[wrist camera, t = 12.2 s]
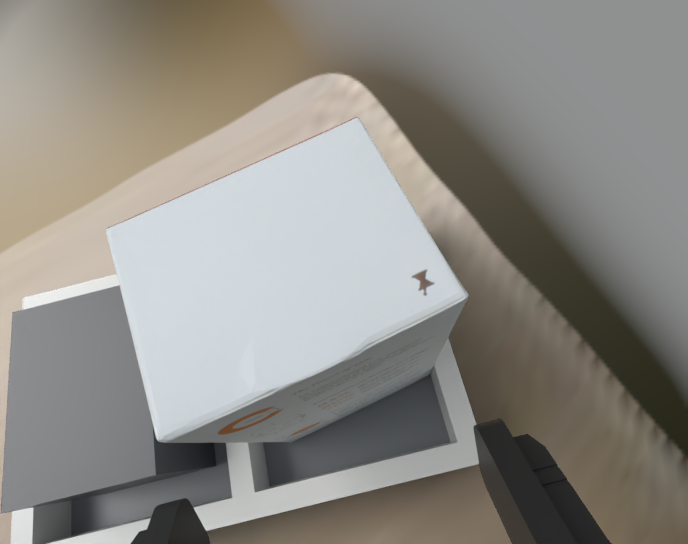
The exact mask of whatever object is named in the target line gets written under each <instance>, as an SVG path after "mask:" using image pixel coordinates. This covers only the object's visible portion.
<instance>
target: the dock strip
mask: <svg viewBox="0 0 688 544" xmlns="http://www.w3.org/2000/svg"><path fill="white" fill-rule="evenodd" d="M474 425H477V424H476V421H475V418H474V415H473V412H472V409H471V406H470V403H469V400H468V397H467V394H466V390H465V387H464V384H463V381H462V378H461V375H460V372H459V369H458V366H457V363H456V360H455V357H454V354H453V350H452V347H451V344H450V341H449V338H448V339H447V341H446V343H445V345H444V347H443V348H442V350H441V352H440V354H439V356H438V358H437V360H436V362H435V364H434V366H433V368H432V370H431V372H430V374H429V375H428V376H426V377H424V378H422V379H420V380H419V381H417V382H415V383H413V384H411V385H409V386H407V387H405V388H403V389H401V390H399V391H397V392H395V393H393V394H391V395H389V396H387V397H385V398H383V399H381V400H379V401H377V402H374V403H372V404H370V405H368V406H366V407H364V408H362V409H360V410H358V411H356V412H354V413H352V414H350V415H348V416H346V417H344V418H342V419H340V420H338V421H336V422H334V423H331V424H329V425H327V426H325V427H323V428H321V429H319V430H317V431H315V432H313V433H311V434H309V435H306V436H304V437H302V438H300V439H298V440H296V441H293V442H291V443H290V442H255V443H249V442H248V443H213V442H210V443H163V442H159V441H158V440H157V439H156V436H155V431H154V427H153V422H152V418H151V414H150V410H149V405H148V401H147V397H146V393H145V389H144V385H143V380H142V376H141V372H140V368H139V364H138V359H137V355H136V351H135V347H134V343H133V339H132V335H131V331H130V326H129V322H128V318H127V314H126V310H125V306H124V302H123V297H122V293H121V289H120V285H119V281H118V277H117V274H114V275H110V276H106V277H103V278H99V279H95V280H91V281H87V282H83V283H79V284H75V285H71V286H67V287H63V288H59V289H56V290H52V291H48V292H44V293H40V294H36V295H32V296H28V297H24V298H23V308H22V310H20V311H16V312H13V314H12V331H11V347H10V364H9V381H8V398H7V414H6V431H5V448H4V465H3V481H2V498H1V513H6V512H12V524H11V543H10V544H131V542H132V541H133V540H134V538H135V537H136V535H137V534H138V532H139V531H143V530H147V528H148V525H149V522H150V519H151V516H152V514H153V511H154V509H155V507H156V506H158V505H160V504H164V503H168V502H172V501H175V500H179V499H183V498H187V499H188V500H189V501H190V503H191V504H192V506H193V508H194V510H195V512H196V514H197V515H198V517H199V519H200V521H201V523H202V524H203V526H204V528H205V530H206V531H208V530H212V529H216V528H220V527H224V526H229V525H233V524H237V523H241V522H245V521H249V520H253V519H257V518H261V517H265V516H269V515H273V514H277V513H281V512H285V511H290V510H294V509H298V508H302V507H306V506H310V505H314V504H318V503H322V502H326V501H330V500H334V499H338V498H342V497H346V496H351V495H355V494H359V493H363V492H367V491H371V490H375V489H379V488H383V487H387V486H391V485H395V484H399V483H403V482H407V481H412V480H416V479H420V478H424V477H428V476H432V475H436V474H440V473H444V472H448V471H452V470H456V469H460V468H464V467H468V466H472V465H477V464H479V460H478V454H477V448H476V441H475V435H474V428H473V427H474Z"/></svg>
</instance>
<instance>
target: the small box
mask: <svg viewBox="0 0 688 544" xmlns="http://www.w3.org/2000/svg"><path fill="white" fill-rule="evenodd" d="M106 235H107V239H108V242H109V246H110V250H111V254H112V258H113V262H114V265H115V269H116V273H117V277H118V281H119V285H120V289H121V293H122V297H123V302H124V306H125V310H126V314H127V318H128V322H129V326H130V331H131V335H132V339H133V343H134V347H135V351H136V355H137V359H138V364H139V368H140V372H141V376H142V380H143V385H144V389H145V393H146V397H147V401H148V405H149V410H150V414H151V418H152V422H153V427H154V431H155V436H156V439H157V440H158V441H159V442H163V443H210V442H213V443H248V442H249V443H255V442H290V443H291V442H293V441H296V440H298V439H300V438H302V437H304V436H306V435H309V434H311V433H313V432H315V431H317V430H319V429H321V428H323V427H325V426H327V425H329V424H331V423H334V422H336V421H338V420H340V419H342V418H344V417H346V416H348V415H350V414H352V413H354V412H356V411H358V410H360V409H362V408H364V407H366V406H368V405H370V404H372V403H374V402H377V401H379V400H381V399H383V398H385V397H387V396H389V395H391V394H393V393H395V392H397V391H399V390H401V389H403V388H405V387H407V386H409V385H411V384H413V383H415V382H417V381H419V380H420V379H422V378H424V377H426V376H428V375H429V374H430V372H431V370H432V368H433V366H434V364H435V362H436V360H437V358H438V356H439V354H440V352H441V350H442V348H443V347H444V345H445V343H446V341H447V339H448V337H449V335H450V333H451V331H452V329H453V327H454V325H455V323H456V321H457V319H458V317H459V315H460V313H461V311H462V309H463V308H464V306H465V304H466V302H467V300H468V298H469V294H468V293H467V291H466V290H465V288H464V287H463V285H462V284H461V282H460V281H459V279H458V278H457V276H456V275H455V273H454V271H453V270H452V268H451V267H450V265H449V264H448V262H447V260H446V259H445V257H444V256H443V254H442V252H441V251H440V249H439V248H438V246H437V245H436V243H435V241H434V240H433V238H432V237H431V235H430V233H429V232H428V230H427V229H426V227H425V225H424V224H423V222H422V221H421V219H420V217H419V216H418V214H417V212H416V211H415V209H414V207H413V206H412V204H411V202H410V201H409V199H408V198H407V196H406V194H405V193H404V191H403V189H402V188H401V186H400V184H399V183H398V181H397V180H396V178H395V176H394V175H393V173H392V171H391V170H390V168H389V167H388V165H387V163H386V161H385V160H384V158H383V156H382V155H381V153H380V151H379V150H378V148H377V146H376V145H375V143H374V142H373V140H372V138H371V137H370V135H369V134H368V132H367V130H366V128H365V127H364V125H363V123H362V121H361V120H360V118H358V117H356V118H353V119H351V120H349V121H347V122H345V123H342V124H340V125H338V126H336V127H334V128H331V129H329V130H327V131H325V132H322V133H320V134H318V135H316V136H313V137H311V138H309V139H307V140H304V141H302V142H300V143H298V144H296V145H293V146H291V147H289V148H286V149H284V150H282V151H280V152H277V153H275V154H273V155H271V156H269V157H267V158H264V159H262V160H260V161H258V162H255V163H253V164H251V165H249V166H246V167H244V168H242V169H240V170H238V171H235V172H233V173H231V174H228V175H226V176H224V177H221V178H219V179H217V180H215V181H213V182H211V183H208V184H206V185H204V186H202V187H199V188H197V189H195V190H193V191H190V192H188V193H186V194H184V195H181V196H179V197H177V198H175V199H172V200H170V201H168V202H166V203H163V204H161V205H159V206H157V207H154V208H152V209H150V210H147V211H145V212H143V213H141V214H138V215H136V216H134V217H132V218H129V219H127V220H125V221H123V222H120V223H118V224H116V225H114V226H111V227H108V228H107V230H106Z"/></svg>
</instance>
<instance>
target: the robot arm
mask: <svg viewBox="0 0 688 544" xmlns="http://www.w3.org/2000/svg"><path fill="white" fill-rule="evenodd" d="M473 428H474V435H475V441H476V448H477V454H478V460H479V466H480V470H481V474H482V477H483V480H484V483H485V485H486V488H487V490H488V492H489V494H490V497H491V499H492V501H493V503H494V505H495V508H496V510H497V512H498V514H499V516H500V518H501V521H502V523H503V525H504V527H505V529H506V531H507V534H508V536H509V538H510V540H511V542H512V544H611V543H610V541H609V540H608V539H607V538H606V536H605V535H604V533H603V532H602V530H601V529H600V527H599V526H598V524H597V523H596V521H595V520H594V518H593V517H592V515H591V514H590V512H589V511H588V510H587V508H586V507H585V505H584V504H583V502H582V501H581V499H580V498H579V496H578V495H577V493H576V492H575V490H574V489H573V487H572V486H571V484H570V483H569V482H568V481H567V478H566V477H565V476H564V474H563V473H562V471H561V470H560V468H558V466H557V464H556V462H555V461H554V459H553V458H552V456H551V455H550V453H549V452H548V450H547V449H546V447H545V446H543V445H542V444H540V443H539V442H538V441H536V440H535V439H534V438H532V437H531V436H529V435H528V434H525V435H521V436H517V437H514V438H513V437H512V435H511V433H510V432H509V430H508V428H507V427H506V425H505V424H504V422H503V421H502V420H501V419H497V420H494V421H490V422H486V423H482V424H478V425H474V427H473ZM131 544H210V541H209V537H208V534H207V532H206V530H205V528H204V526H203V524H202V523H201V521H200V519H199V517H198V515H197V514H196V512H195V510H194V508H193V506H192V504H191V503H190V501H189V500H188V499H187V498H183V499H179V500H175V501H172V502H168V503H164V504H160V505H158V506H156V507H155V509H154V511H153V514H152V516H151V519H150V522H149V525H148V528H147V530H143V531H139V532H138V534H137V535H136V537H135V538H134V540H133V541H132V542H131Z"/></svg>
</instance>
